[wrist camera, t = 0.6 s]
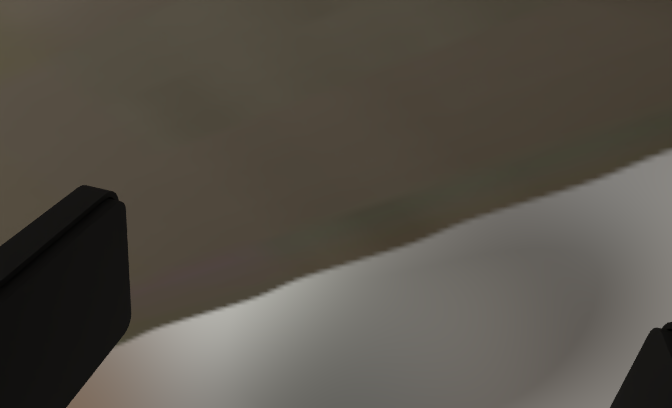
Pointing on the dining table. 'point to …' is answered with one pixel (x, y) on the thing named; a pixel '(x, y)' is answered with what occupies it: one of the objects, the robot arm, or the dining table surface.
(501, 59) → the dining table surface
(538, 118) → the dining table surface
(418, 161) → the dining table surface
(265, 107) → the dining table surface
